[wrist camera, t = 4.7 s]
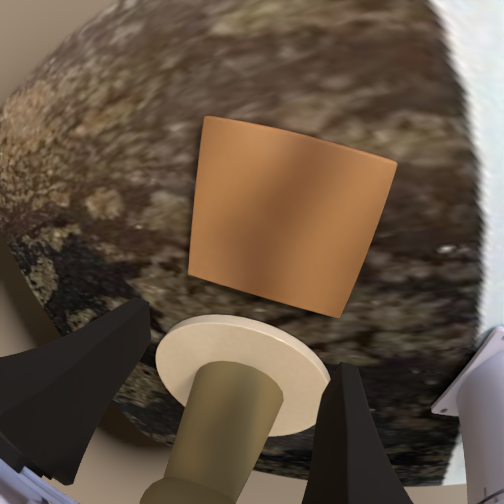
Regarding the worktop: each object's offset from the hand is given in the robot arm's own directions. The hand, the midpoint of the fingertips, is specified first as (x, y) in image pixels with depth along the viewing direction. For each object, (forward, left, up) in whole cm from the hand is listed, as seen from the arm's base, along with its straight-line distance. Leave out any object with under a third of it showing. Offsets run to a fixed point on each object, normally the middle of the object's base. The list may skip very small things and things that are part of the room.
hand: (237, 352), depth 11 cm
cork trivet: (0, -3, -5) cm, 6 cm away
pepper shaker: (0, +9, -5) cm, 10 cm away
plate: (0, +9, -5) cm, 11 cm away
